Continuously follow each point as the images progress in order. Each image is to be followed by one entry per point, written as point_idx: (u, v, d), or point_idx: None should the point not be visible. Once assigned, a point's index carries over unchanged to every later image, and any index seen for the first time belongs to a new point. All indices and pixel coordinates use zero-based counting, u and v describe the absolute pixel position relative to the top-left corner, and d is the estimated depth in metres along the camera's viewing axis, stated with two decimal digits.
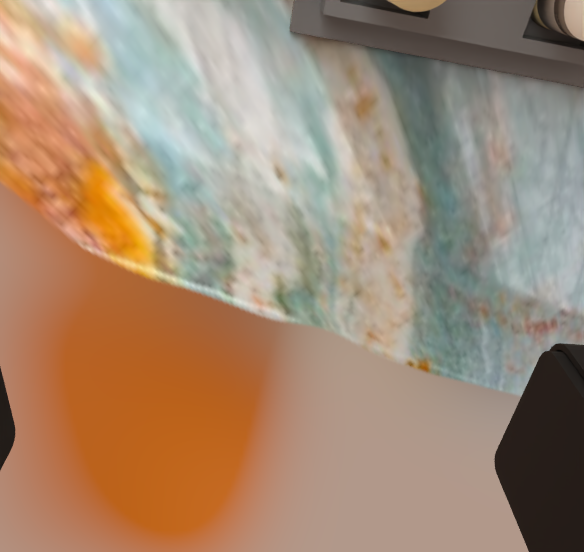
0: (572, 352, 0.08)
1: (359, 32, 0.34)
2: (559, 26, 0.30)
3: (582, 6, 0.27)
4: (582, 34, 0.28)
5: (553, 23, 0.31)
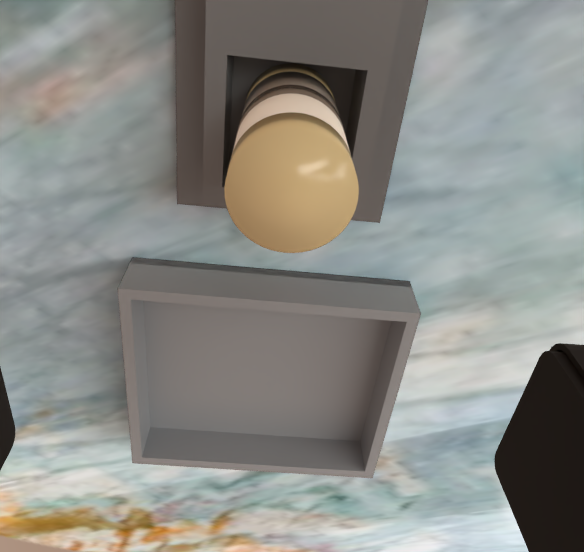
0: (572, 352, 0.08)
1: None
2: (250, 103, 0.19)
3: (284, 109, 0.16)
4: (244, 127, 0.17)
5: (253, 97, 0.20)
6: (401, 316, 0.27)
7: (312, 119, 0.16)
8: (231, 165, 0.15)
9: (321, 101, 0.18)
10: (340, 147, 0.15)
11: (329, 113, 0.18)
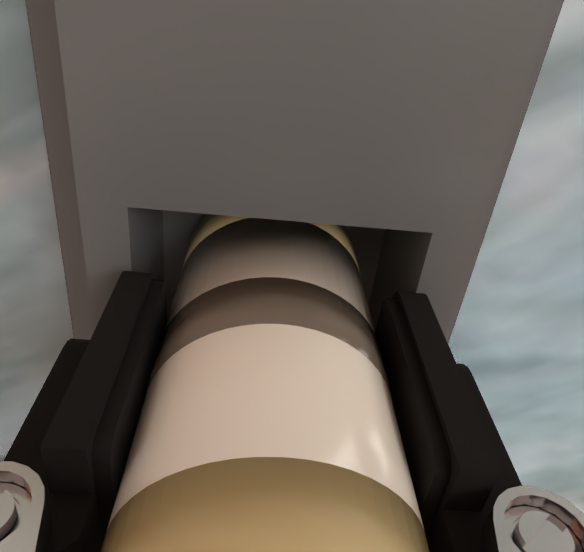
0: (403, 298, 0.09)
1: None
2: (178, 317, 0.09)
3: (244, 428, 0.06)
4: (143, 445, 0.07)
5: (188, 289, 0.09)
6: None
7: (324, 495, 0.05)
8: None
9: (338, 335, 0.08)
10: None
11: (360, 385, 0.07)
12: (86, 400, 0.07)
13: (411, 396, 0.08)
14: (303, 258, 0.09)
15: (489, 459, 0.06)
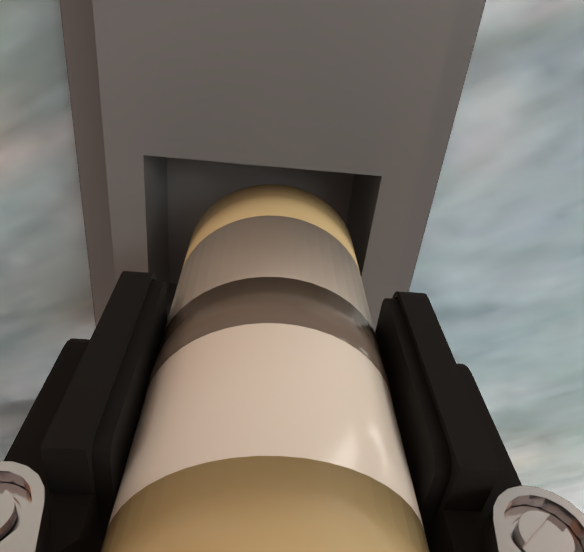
0: (403, 297, 0.09)
1: None
2: (178, 316, 0.09)
3: (244, 427, 0.06)
4: (143, 444, 0.07)
5: (188, 289, 0.09)
6: None
7: (323, 494, 0.05)
8: None
9: (338, 335, 0.08)
10: None
11: (360, 385, 0.07)
12: (86, 400, 0.07)
13: (411, 396, 0.08)
14: (303, 258, 0.09)
15: (488, 459, 0.06)
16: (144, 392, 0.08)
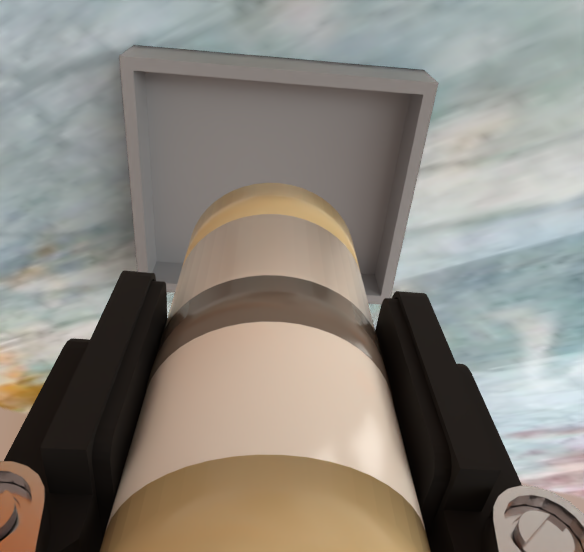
0: (402, 298, 0.09)
1: None
2: (178, 315, 0.09)
3: (244, 426, 0.06)
4: (142, 443, 0.07)
5: (188, 288, 0.09)
6: (417, 86, 0.26)
7: (324, 493, 0.05)
8: None
9: (338, 333, 0.08)
10: None
11: (361, 383, 0.07)
12: (86, 400, 0.07)
13: (411, 396, 0.08)
14: (303, 256, 0.09)
15: (489, 459, 0.06)
16: (144, 392, 0.08)
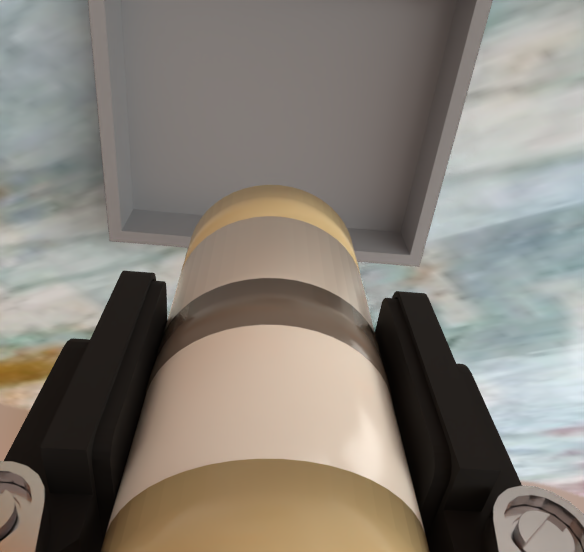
0: (402, 297, 0.09)
1: None
2: (178, 317, 0.09)
3: (244, 430, 0.06)
4: (142, 447, 0.07)
5: (188, 290, 0.09)
6: None
7: (324, 497, 0.05)
8: None
9: (338, 336, 0.08)
10: None
11: (361, 387, 0.07)
12: (86, 400, 0.07)
13: (411, 396, 0.08)
14: (303, 259, 0.09)
15: (488, 459, 0.06)
16: (144, 392, 0.08)
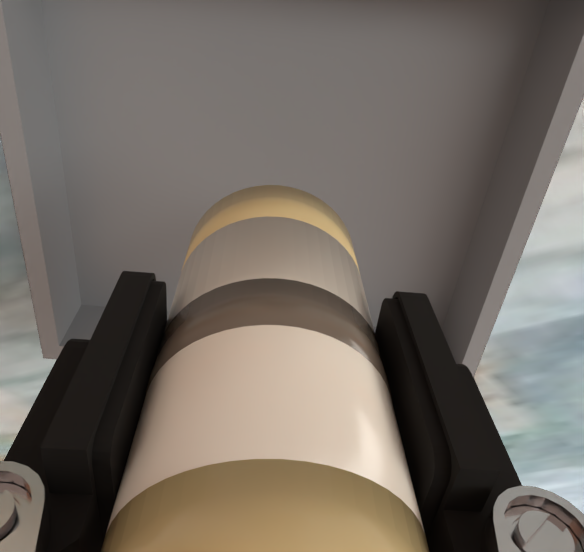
0: (402, 297, 0.09)
1: None
2: (178, 318, 0.09)
3: (244, 430, 0.06)
4: (142, 447, 0.07)
5: (188, 291, 0.09)
6: None
7: (324, 497, 0.05)
8: None
9: (338, 337, 0.08)
10: None
11: (360, 387, 0.07)
12: (86, 400, 0.07)
13: (411, 396, 0.08)
14: (303, 259, 0.09)
15: (488, 459, 0.06)
16: (144, 392, 0.08)
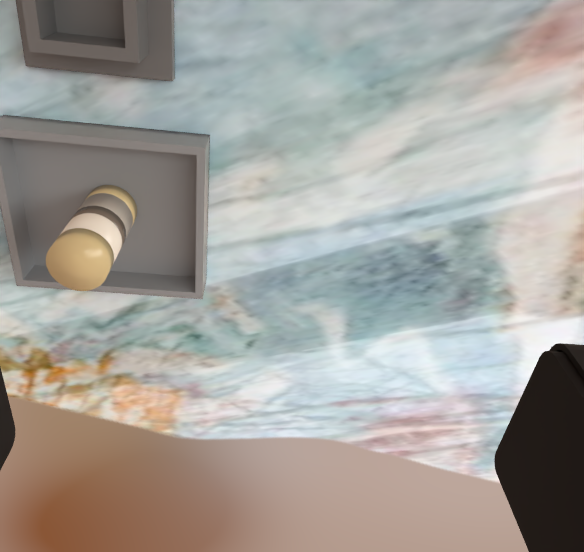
0: (572, 352, 0.08)
1: None
2: None
3: (76, 225, 0.36)
4: (61, 232, 0.36)
5: (77, 210, 0.39)
6: (191, 150, 0.38)
7: (85, 232, 0.35)
8: (47, 254, 0.35)
9: (104, 216, 0.38)
10: (94, 246, 0.35)
11: (104, 223, 0.37)
12: None
13: None
14: (105, 202, 0.39)
15: None
16: None
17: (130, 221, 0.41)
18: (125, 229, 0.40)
